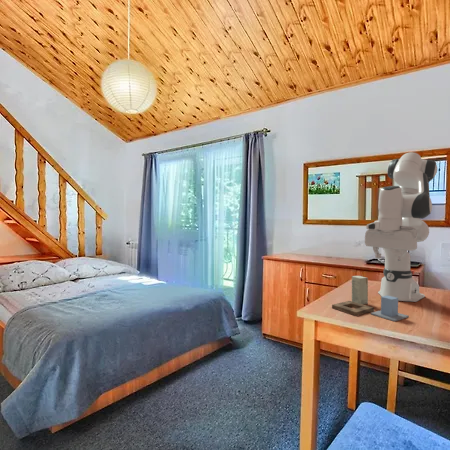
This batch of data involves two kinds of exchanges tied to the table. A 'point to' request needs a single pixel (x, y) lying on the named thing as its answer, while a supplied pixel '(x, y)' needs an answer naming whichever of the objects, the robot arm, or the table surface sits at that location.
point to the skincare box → (360, 289)
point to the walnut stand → (345, 308)
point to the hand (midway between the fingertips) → (389, 259)
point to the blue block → (389, 306)
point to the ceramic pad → (394, 318)
